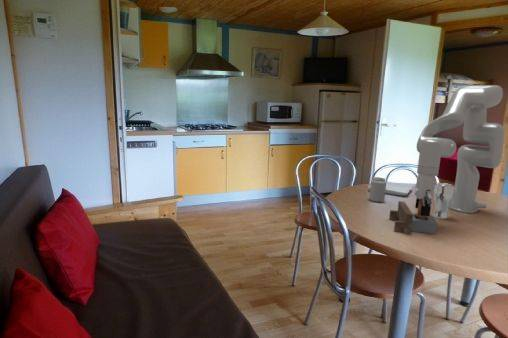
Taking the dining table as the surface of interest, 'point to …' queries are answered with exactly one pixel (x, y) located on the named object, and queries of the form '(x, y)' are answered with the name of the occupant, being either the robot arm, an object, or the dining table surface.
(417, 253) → the dining table surface
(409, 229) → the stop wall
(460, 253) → the dining table surface
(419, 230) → the hole block
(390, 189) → the salad plate
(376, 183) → the can
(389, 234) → the dining table surface
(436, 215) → the beer glass
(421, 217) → the dowel
